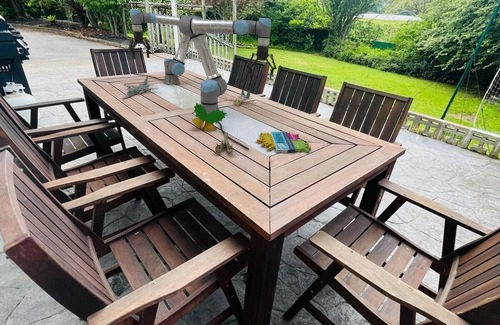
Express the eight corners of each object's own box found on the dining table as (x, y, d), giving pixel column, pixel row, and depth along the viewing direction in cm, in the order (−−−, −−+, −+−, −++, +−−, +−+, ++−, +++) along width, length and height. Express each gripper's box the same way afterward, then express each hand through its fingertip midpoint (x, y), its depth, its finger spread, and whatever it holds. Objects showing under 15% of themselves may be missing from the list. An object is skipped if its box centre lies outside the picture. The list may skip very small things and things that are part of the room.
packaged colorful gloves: (313, 150, 142) (258, 149, 139) (312, 153, 143) (258, 152, 140) (301, 132, 164) (254, 130, 161) (301, 134, 165) (254, 133, 162)
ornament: (218, 133, 171) (224, 110, 169) (221, 134, 163) (227, 111, 161) (186, 125, 162) (192, 101, 160) (189, 126, 155) (195, 101, 153)
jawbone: (234, 135, 144) (233, 125, 135) (233, 160, 138) (232, 151, 129) (217, 135, 144) (216, 125, 135) (216, 160, 138) (214, 150, 129)
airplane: (117, 88, 232) (115, 76, 227) (154, 85, 245) (152, 75, 240) (121, 101, 204) (118, 88, 199) (162, 97, 217) (161, 85, 212)
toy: (261, 91, 228) (254, 99, 202) (261, 99, 231) (253, 108, 205) (231, 87, 233) (220, 95, 207) (230, 95, 236) (219, 104, 210)
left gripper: (126, 31, 203) (130, 60, 213) (153, 31, 221) (156, 57, 231) (120, 30, 207) (125, 58, 217) (148, 30, 225) (151, 56, 235)
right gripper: (281, 46, 172) (277, 78, 183) (243, 43, 170) (242, 77, 181) (283, 47, 166) (279, 81, 176) (244, 44, 164) (242, 79, 174)
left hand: (141, 58), depth 224 cm, fingers open, 13 cm apart
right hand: (260, 79), depth 178 cm, fingers open, 13 cm apart
